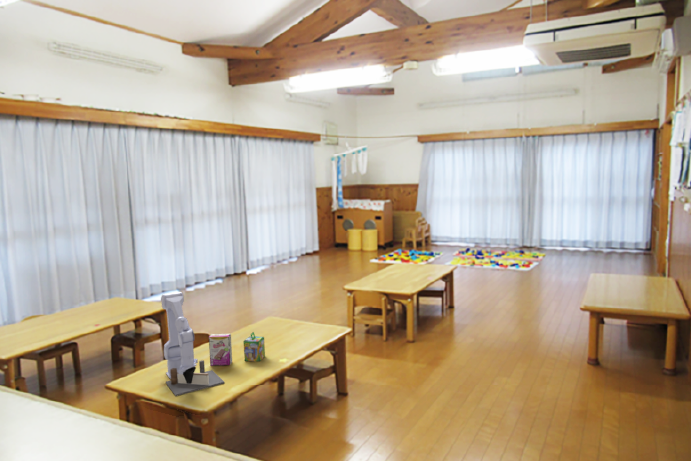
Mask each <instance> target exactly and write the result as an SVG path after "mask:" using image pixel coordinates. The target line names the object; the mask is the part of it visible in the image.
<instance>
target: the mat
mask: <svg viewBox="0 0 691 461" xmlns="http://www.w3.org/2000/svg"><path fill="white" fill-rule="evenodd" d="M205 373H208V374H209V375H208V376H209V385H201V384H184V383H177V384H175V385H172V384H171V379H170V380H167V381H165V384H166V385H167V387H168V388H169V389H170V390H171V392H172V394H173V395H174V396H175V397H178V396H182V395H185V394H190V393H194V392H198V391H201V390H204V389H208V388H211V387H212V388H213V387H216V386H220V385H223V384H225V380H224V379H223V378H222V377H220V376H219V375H218V374H217V373H216V372H215V371H214V370H213V369H211V370H207V371H206V370H205Z"/></svg>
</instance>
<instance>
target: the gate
mask: <svg viewBox="0 0 691 461" xmlns="http://www.w3.org/2000/svg"><path fill="white" fill-rule="evenodd" d="M177 374H178V372H177ZM208 375H209V374H208V373H200V372H194V374H193V379H192V383H191V384H201V385H209V376H208ZM177 379H178V383H184V384H187V383H186V380H185V377H184V375H183V374H178V377H177Z"/></svg>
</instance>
